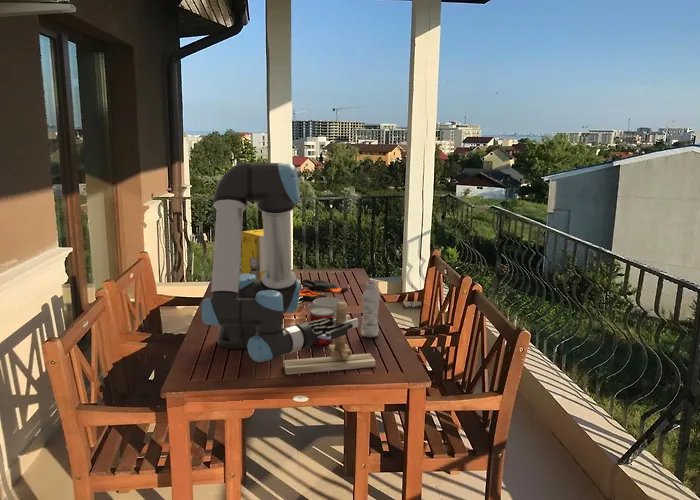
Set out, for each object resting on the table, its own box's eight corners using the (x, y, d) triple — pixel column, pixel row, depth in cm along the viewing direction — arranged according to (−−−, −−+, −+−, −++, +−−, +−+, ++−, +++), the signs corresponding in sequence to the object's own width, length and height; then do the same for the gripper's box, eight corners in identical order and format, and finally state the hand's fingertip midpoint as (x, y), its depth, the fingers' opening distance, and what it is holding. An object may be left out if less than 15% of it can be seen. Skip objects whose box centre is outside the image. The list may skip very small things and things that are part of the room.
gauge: (328, 353, 174) (330, 301, 171) (346, 352, 176) (348, 300, 172) (336, 367, 164) (338, 312, 160) (354, 366, 166) (357, 311, 162)
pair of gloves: (317, 304, 230) (317, 297, 230) (273, 295, 243) (273, 288, 242) (350, 290, 253) (351, 283, 253) (309, 282, 266) (309, 276, 265)
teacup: (342, 315, 215) (343, 296, 214) (346, 325, 203) (346, 305, 202) (305, 315, 213) (305, 296, 212) (306, 326, 201) (307, 306, 200)
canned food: (307, 338, 189) (307, 308, 187) (328, 336, 192) (329, 306, 190) (313, 346, 182) (314, 315, 180) (335, 343, 185) (336, 313, 183)
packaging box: (260, 288, 252) (259, 236, 247) (242, 281, 264) (241, 231, 259) (288, 282, 263) (288, 232, 258) (269, 276, 275) (269, 228, 270)
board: (283, 366, 165) (283, 360, 164) (369, 359, 172) (370, 353, 172) (286, 374, 159) (286, 368, 159) (375, 366, 166) (375, 360, 166)
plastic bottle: (356, 336, 192) (358, 282, 188) (369, 331, 197) (371, 279, 193) (369, 341, 188) (371, 286, 184) (382, 336, 193) (384, 283, 189)
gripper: (280, 341, 164) (335, 325, 180) (314, 357, 153) (370, 338, 169) (280, 318, 163) (336, 304, 179) (314, 332, 151) (371, 315, 167)
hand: (352, 320), depth 174 cm, fingers closed on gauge, 3 cm apart
